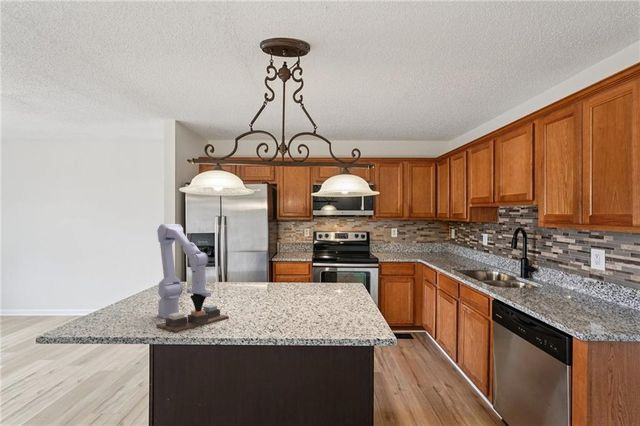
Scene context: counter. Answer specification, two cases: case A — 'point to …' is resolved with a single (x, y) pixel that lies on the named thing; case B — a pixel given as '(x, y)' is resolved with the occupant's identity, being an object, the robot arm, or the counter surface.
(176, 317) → the cream cube
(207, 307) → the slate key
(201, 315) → the salmon pink cube
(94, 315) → the counter surface
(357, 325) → the counter surface
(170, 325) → the brown socket board
